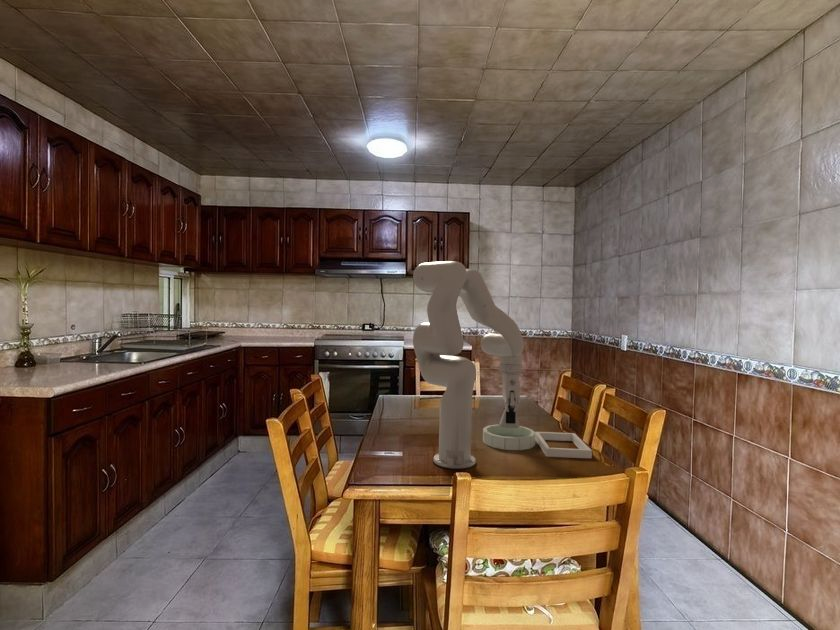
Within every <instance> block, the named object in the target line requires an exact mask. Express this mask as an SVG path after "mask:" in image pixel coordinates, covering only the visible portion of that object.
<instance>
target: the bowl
mask: <svg viewBox="0 0 840 630" xmlns="http://www.w3.org/2000/svg"><path fill="white" fill-rule="evenodd" d="M535 432H536V431H534V430H533V429H531V428H530V427H529V428H528V427H526V426H521V425H520V427H518V428H505V427H501V426H500V425H499V423H498V424H491V425H486V426H485V427H483V429H482V441H483V444H485V445H486V446H488V447H491V448H493V449H498V450H499V449H500V450H502V451H503V450H505V451H524V450H531V449H532V448H534V447H535V446H536V440H535Z"/></svg>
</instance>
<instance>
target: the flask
mask: <svg viewBox="0 0 840 630" xmlns="http://www.w3.org/2000/svg"><path fill="white" fill-rule="evenodd" d="M508 402H510V401H508ZM509 405H510V404H509ZM504 408H505V410H504V409H503V413H502V416H501V418H500V420H499V423H498V424H499V425H500V426H501V427H505V428H518V427H520V426H521V425H520V422H519V419H518V415H517V414H516V419H515V424H512V423H506V411H507V403H506V406H505V407H504Z"/></svg>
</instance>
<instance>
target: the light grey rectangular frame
mask: <svg viewBox="0 0 840 630" xmlns="http://www.w3.org/2000/svg"><path fill="white" fill-rule="evenodd" d="M534 432H535V443H537V445H538V447H540V449H541V450H542V452H543V453H544V456H545V457H549V458H568V459H569V458H571V459H572V458H573V459H575V458H576V459H592V458H593V450H592V449H591V448H590V447H589V446H588V445H587V444H586V443H585V442H584V441H583V439H581V438H580V437H579V436H578V435H577V434H576V433H575V432H554V431H534ZM546 441H563V442H566V441H567V442H572V443H573V444H574V445H575V446H576V447H577V448H565V447H549V445H548V443H547V442H546Z"/></svg>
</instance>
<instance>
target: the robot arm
mask: <svg viewBox="0 0 840 630" xmlns="http://www.w3.org/2000/svg"><path fill="white" fill-rule="evenodd" d="M412 276H413V277H412V278H413V283H414V285H415V286H416V288H418V289H419V290H421V291H422V292H424V293H425V292H426V293H428V294H429V293H430V294H431V296H430V298H429V300H428V303H427V307H426V314H427V318H428V321H425V322H421V323H420V324H418V325H417V326H416V327H415V329H414V331H413V336H412V345H413V350H414V353H415V357H416V361H417V364H418V368H419V371H420V374H421V377H422V378H423V381H425V382H426V383H427V384H429V385H434V386H438V387H444V388H446V390H445V391H444V392H443V394H442V397H441V399H440V401H439V426H438V427H439V432H438V434H439V435H438V453H436V454H434V456H433V458H432V459H433V462H434V464H436V465H437V466H439V467H442V468H447V469H452V470H453V469H454V470H455V469H457V470H459V469H460V470H461V469H467V468H472V467H473V466H475V464H476V460H477V459H476V457H475V456H474V455H471V450H472V449H471V448H472V416H473V415H472V414H473V413H472V406H473V392H474V385H475V382H476V377H477V368H476V365H475V364H474V362H473V361H472V360H470V359H469V358H467V357H465V356H464V357H463V356H458V354H460V353H461V352H462V351H463V349H464V344H465V343H464V336H463V333H462V328H461V324H460V319H459V315H458V309H457V302H458V298H459V297H460V298H461V299H462V302H463V304H464V306H465V307H466V310H467V312H468V314H469V316H470V317H471V319H472V320H474V321H475V322H477V323H478V324H480V325H482V326H485V327H487V328H489V329H491V330H493V331H495V332H489V333H486V334H484V336H482V337H481V341H480V348H481V351H483V352H484V353H485V354H487V355H489V356H497V357H499V374H502V383H501V385H502V388H501V389H502V399H503V401H504V403H503V404H504V407H503V411H504V410H505V406H506V403H507V411H506V423H512V424H515V419H516V415H517V412H516V404H519V403H520V402H521V398H520V397H521V396H520V395H521V394H520V393H521V392H520V389H521V388H520V375H522V370H523V368H522V367H523V352H524V349H525V342H524V338H523V334H522V333H521V331H520V328H519V326H518V324H517V323H516V322H515V320H514V319H513V318H511V317H510V316H509V314H507V313H506V312H504V311H503V310H502V309H501V308H499V307H498V306H497V305H496V304H495V302H494V299H493V298H492V295H491V293H490V290H489V289H488V287H487V284H486V282H485V280H484V278H483V276H482V274H481V272H480V271H478V270H477V269H474V268H466V266H465V265H464V264H463V263H462V262H459V261H453V260H445V261H442V260H441V261H431V262H422V263H420V264H418V265H417V266H416V267H415V269H414V270H413V274H412ZM508 401H510V402H508ZM509 404H510V405H509Z"/></svg>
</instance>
